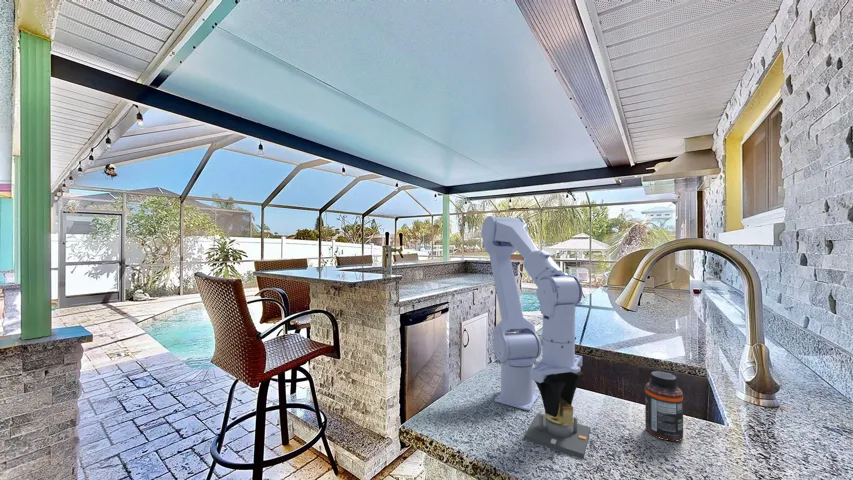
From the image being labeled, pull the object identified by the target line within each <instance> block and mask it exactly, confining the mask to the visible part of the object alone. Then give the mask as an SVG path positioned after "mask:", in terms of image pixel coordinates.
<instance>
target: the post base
mask: <svg viewBox="0 0 853 480" xmlns="http://www.w3.org/2000/svg"><path fill="white" fill-rule="evenodd" d="M589 434H590V435H591V426H588V425H584V424H580V423H578V417H577V416H573V425H569V426H561V425H556V424H553V423H551V422H549V421H547V420H546V419H545V413H540V412H537V413H536V415H535V417H534V419H532V421H531V423H530V424H529V427H528V428H527V430H526V431H525V433H524V436H523V440H524V441H527V442H530V443H534V444H536V445H540V446H543V447H546V448H549V449H552V450H555V451H559V452H562V453H564V454H568V455H570V456H574V457H577V458H580V459H583V460H584V459H585V457H586V456H585V455H586V452H585V451H587V448H586V447H588V443H589V439H590V435H589Z"/></svg>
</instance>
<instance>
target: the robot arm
mask: <svg viewBox="0 0 853 480" xmlns="http://www.w3.org/2000/svg"><path fill="white" fill-rule="evenodd" d="M481 237H482V242H483V248H484V251H485V252H486V253H488V255H489V260H490V265H491V271H492V276H493V282H494V287H495V292H496V296H497V297H496V298H497V303H498V306H499V307H498V309H499V312H500V319H501V320H500V322H498V323H497V325H495V327H494V328H493V330H492V337H493V338H492V339H493V341H492V347H493V353H494V355H495V357H496V358H497V360H498V361H500V392H499V394H498V395H496V397H495V398H494V402H495V403H499V404H503V405H505V406H510V407H514V408H518V409H520V410H524V411H530V410H531V409H532V408H533V406H534V405H535V403H536V401H537V400H538V398H539V397H541V399H542V403H543V408H544V414H545V413H547V414H549V415H551V416H553V417H556V416H557V415H558V411H559V401H560V396H561V397H562V398H563V399H564V400H565V401H566V402H568V403H569V404H570V405H571V406H572V403H573V401H574V400H573V399H574V396H575V393H576V390H577V388H578V385H579V383H580V382H581V380H582V379H583V377H584V373H583V371H581V367H582V366H583V356H582V355H579V354H575V353H576V352H575V351H576V350H575V349H576V346H575V345H576V344H575V343H576V338H575V337H576V334H575V333H576V324H575V323H576V306H577V305H578V304H580V302H582V299H583V286H582V284H581V282H580V281H579V279H578V277H577V276H575V275H571V274H568V273H567V272H564V271H563V270H562V269H561V268H560V266H559V265H558V264H557V263H556V262H555V260H554V259H553V258H552V256H551V254H550V253H549V251H545V250H541V249H538V248H537V246H536V245H535V243H534V241H533V240H532V238H531V236H530V235H529V233H528V224H527V222H525V220H524V219H523V217H519V216H518V217H517V216H516V217H508V216H506V217H504V216H492V215H488V216H486V217H485V219H484V220H483V222H482V227H481ZM516 252H518V253H519V255H520V256H521V257H522V258H523V260H524V261H523V268H524V269H525V271H526V272H527V274H528V276H530V278H531V279H532V281H533V283H534V285H535V286H536V287H537V288H536V289H535V291H536V297H537V298H536V299H537V301H538V302H539V311H540V314H541V315H542V341H541V339H540V337H539V335H538V333H537V331H536V328H535V325H534V324H533V323H532V322H531V321H529V320H527V319H526V318H525V317H524V315H523V309H522V306H521V301H520V296H519V293H518V287H517V282H516V276H515V274H514V268H513V263H512V259H511V256H512V254H514V253H516ZM541 354H542V355H541ZM540 356H541V357H542V358H541V359H540V360H539V362H537V359H538V358H540ZM536 363H537V364H536ZM535 364H536V365H535ZM536 386H537V389H538V390H539V392H536ZM538 396H539V397H538ZM536 399H537V400H536ZM534 402H535V403H534Z"/></svg>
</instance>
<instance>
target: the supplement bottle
mask: <svg viewBox="0 0 853 480" xmlns="http://www.w3.org/2000/svg"><path fill="white" fill-rule="evenodd" d="M650 379H651V380H650V381H648V382H647V383H645V387H644V390H645V391H644V392H645V393H644V394H645V395H644V396H645V397H644V398H645V399H644V401H645V402H644V403H645V404H644V405H645V406H644V407H645V410H644V411H645V413H644V416H645V419H644V421H645V429H646V430H647V432H648V431H649V432H650V434H651V433H652V434H653V436H654V435H655V436H654V437H656V436H657V437H656V438H658V437H660V438H663V439H662V440H664V439H668V440H679V441H681V440H682V439H683V438H684V394H683V391H682V389H681V388H679V387H678V386H677V376H676V375H674V374H671V373H669V372H664V371H659V370H656V371H652V372H651V373H650ZM649 432H648V433H649ZM652 434H651V435H652ZM660 438H659V439H660ZM680 439H681V440H680Z"/></svg>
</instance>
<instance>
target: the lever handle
mask: <svg viewBox="0 0 853 480" xmlns="http://www.w3.org/2000/svg"><path fill="white" fill-rule="evenodd" d="M544 415H545V419H546V420H547V421H549V422H551V423H553V424H556V425H561V426H569V425H573V417H574V406H573V405H572V404H571V405H570V404H569V403H568V402H566V401H565V400H564V399H563V398H562V397H561V396H560V401H559V411H558V415H557V416H556V417H553V416H551V415H549V414H547V413H545V412H544Z"/></svg>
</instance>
